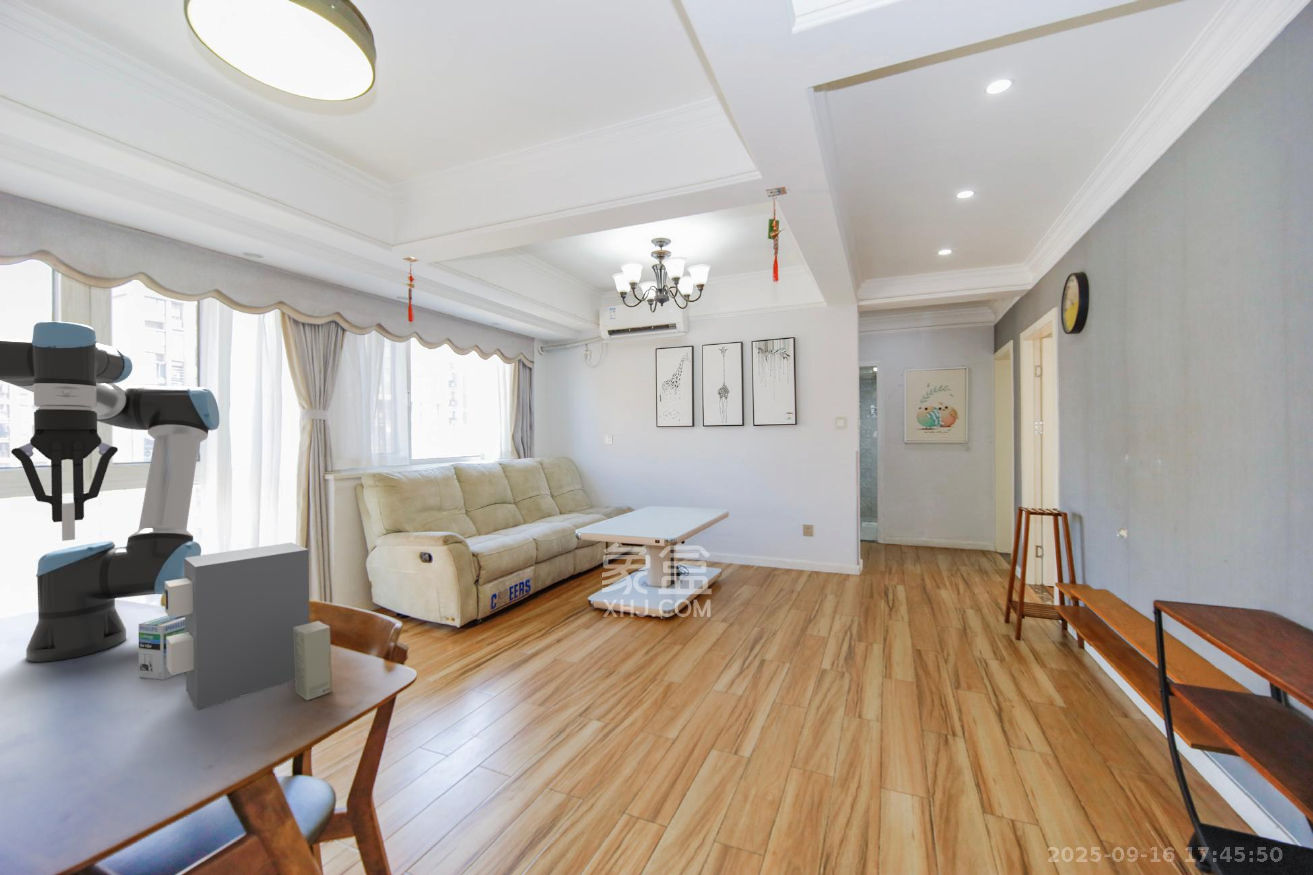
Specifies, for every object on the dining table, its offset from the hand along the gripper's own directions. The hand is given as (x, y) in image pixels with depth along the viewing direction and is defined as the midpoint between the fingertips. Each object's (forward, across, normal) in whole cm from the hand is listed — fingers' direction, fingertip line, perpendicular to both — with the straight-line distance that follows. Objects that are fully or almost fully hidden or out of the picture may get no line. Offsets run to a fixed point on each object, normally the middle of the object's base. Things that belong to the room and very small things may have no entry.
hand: (68, 539), depth 94 cm
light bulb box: (+30, +15, +3) cm, 33 cm away
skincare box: (+30, +29, -31) cm, 52 cm away
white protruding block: (+13, +14, -17) cm, 26 cm away
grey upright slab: (+29, +23, -17) cm, 41 cm away
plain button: (+23, +14, -17) cm, 32 cm away
